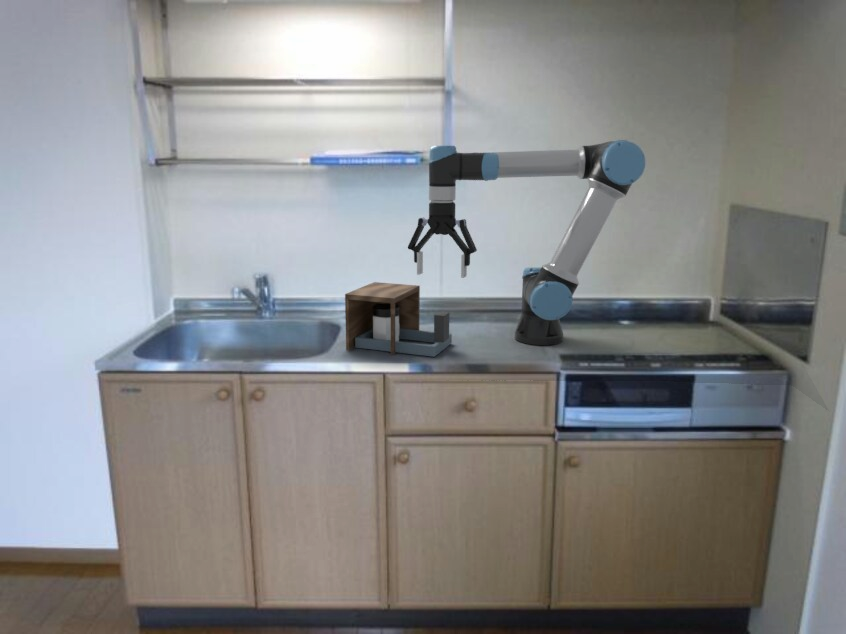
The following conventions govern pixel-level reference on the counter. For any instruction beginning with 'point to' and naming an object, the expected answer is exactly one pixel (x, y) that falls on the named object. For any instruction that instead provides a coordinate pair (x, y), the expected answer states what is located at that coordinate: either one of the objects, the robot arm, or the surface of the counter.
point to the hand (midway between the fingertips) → (441, 275)
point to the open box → (380, 293)
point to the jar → (384, 321)
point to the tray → (438, 336)
